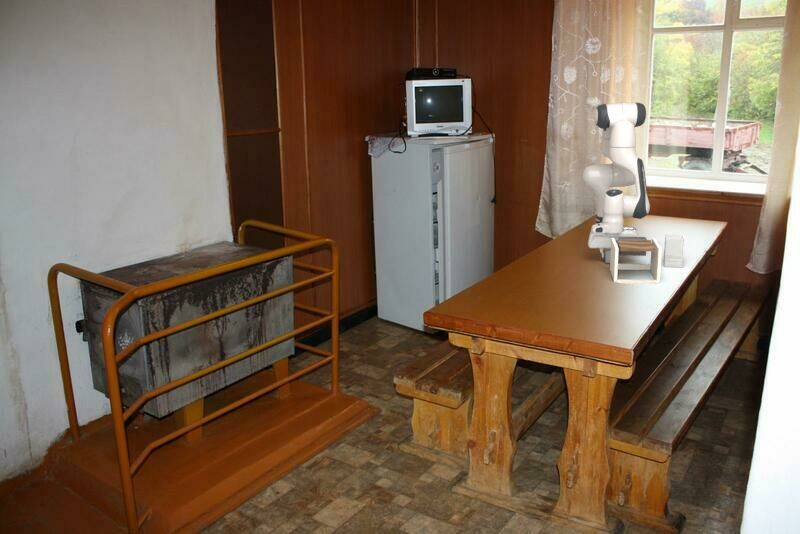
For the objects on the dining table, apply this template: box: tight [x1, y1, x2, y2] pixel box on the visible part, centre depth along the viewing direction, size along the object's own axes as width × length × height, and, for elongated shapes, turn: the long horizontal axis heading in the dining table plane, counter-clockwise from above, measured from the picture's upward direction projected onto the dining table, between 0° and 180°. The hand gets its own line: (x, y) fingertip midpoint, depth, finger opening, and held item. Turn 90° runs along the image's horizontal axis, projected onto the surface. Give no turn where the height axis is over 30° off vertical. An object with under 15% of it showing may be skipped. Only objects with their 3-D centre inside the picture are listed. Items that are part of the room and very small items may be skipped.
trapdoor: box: [616, 236, 655, 257], centre depth 288 cm, size 20×14×7 cm
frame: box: [609, 237, 663, 285], centre depth 286 cm, size 20×18×14 cm
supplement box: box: [663, 234, 685, 268], centre depth 299 cm, size 7×7×13 cm
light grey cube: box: [604, 248, 611, 264], centre depth 308 cm, size 5×5×5 cm
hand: (611, 257), depth 308 cm, fingers closed on light grey cube, 5 cm apart
